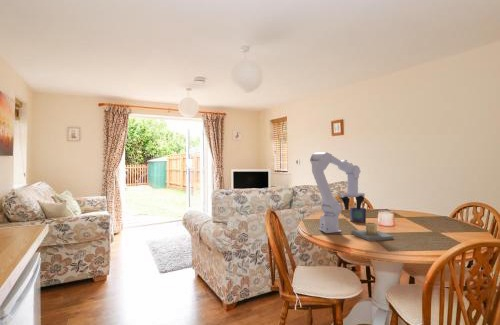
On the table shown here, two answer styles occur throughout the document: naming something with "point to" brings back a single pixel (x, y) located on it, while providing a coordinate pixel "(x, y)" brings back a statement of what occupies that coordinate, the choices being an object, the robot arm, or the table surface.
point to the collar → (371, 228)
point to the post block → (369, 237)
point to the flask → (357, 214)
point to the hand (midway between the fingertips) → (352, 209)
